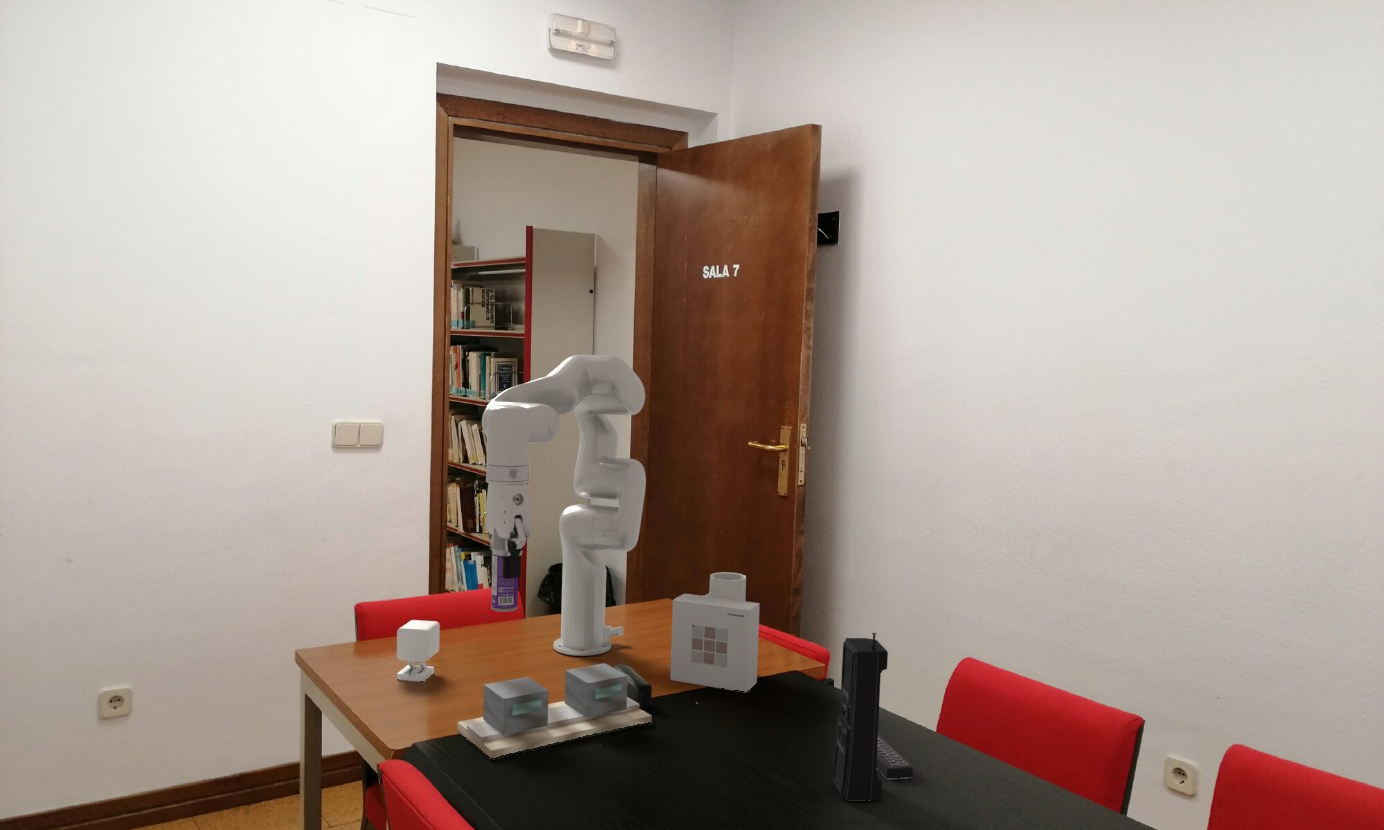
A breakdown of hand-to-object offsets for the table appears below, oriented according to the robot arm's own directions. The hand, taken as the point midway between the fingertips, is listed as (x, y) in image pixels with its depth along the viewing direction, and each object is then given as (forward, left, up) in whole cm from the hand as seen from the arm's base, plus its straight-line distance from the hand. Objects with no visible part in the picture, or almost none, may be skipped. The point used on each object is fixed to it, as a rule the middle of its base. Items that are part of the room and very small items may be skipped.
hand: (505, 573), depth 177 cm
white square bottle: (-46, +5, -25) cm, 53 cm away
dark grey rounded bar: (-23, +7, -25) cm, 34 cm away
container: (0, 0, -7) cm, 7 cm away
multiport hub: (-42, +53, -25) cm, 72 cm away
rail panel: (-3, +14, -24) cm, 28 cm away
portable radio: (-30, +59, -24) cm, 71 cm away
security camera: (+8, -24, -25) cm, 35 cm away
